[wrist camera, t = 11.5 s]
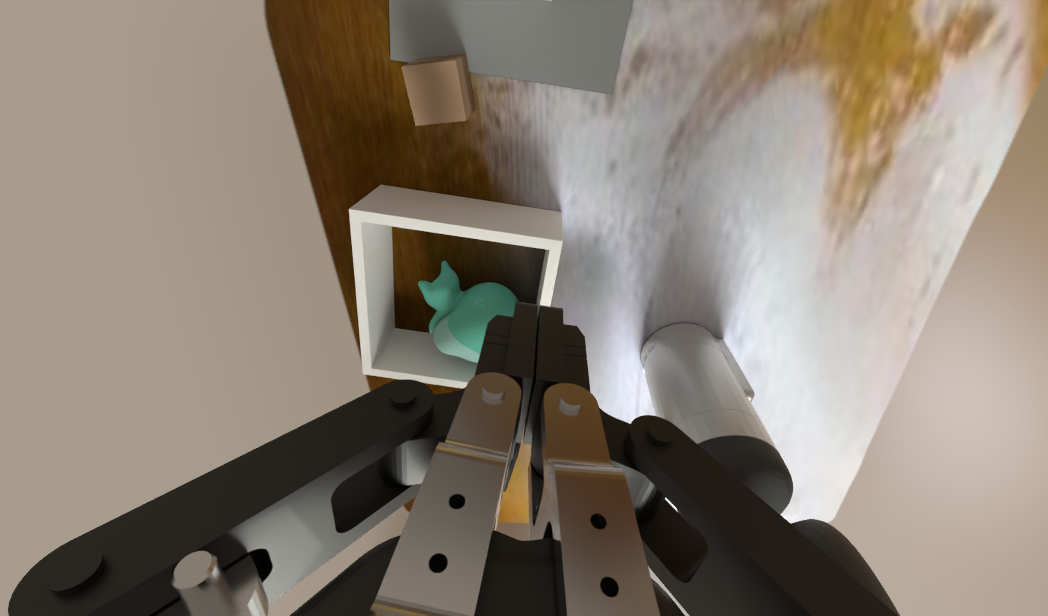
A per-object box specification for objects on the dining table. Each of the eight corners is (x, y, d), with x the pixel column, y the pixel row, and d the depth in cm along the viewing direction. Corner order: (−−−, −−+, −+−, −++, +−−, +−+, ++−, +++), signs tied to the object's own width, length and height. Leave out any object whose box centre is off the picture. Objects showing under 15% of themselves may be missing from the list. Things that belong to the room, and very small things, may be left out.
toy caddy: (561, 212, 44) (562, 241, 37) (535, 354, 54) (532, 398, 47) (381, 184, 44) (348, 209, 37) (387, 333, 54) (362, 374, 47)
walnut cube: (466, 53, 37) (455, 60, 33) (475, 109, 40) (466, 120, 36) (416, 59, 37) (401, 66, 34) (428, 113, 40) (415, 125, 37)
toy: (382, 307, 45) (467, 407, 49) (433, 278, 38) (527, 398, 42) (438, 259, 51) (509, 351, 56) (490, 228, 45) (566, 335, 49)
